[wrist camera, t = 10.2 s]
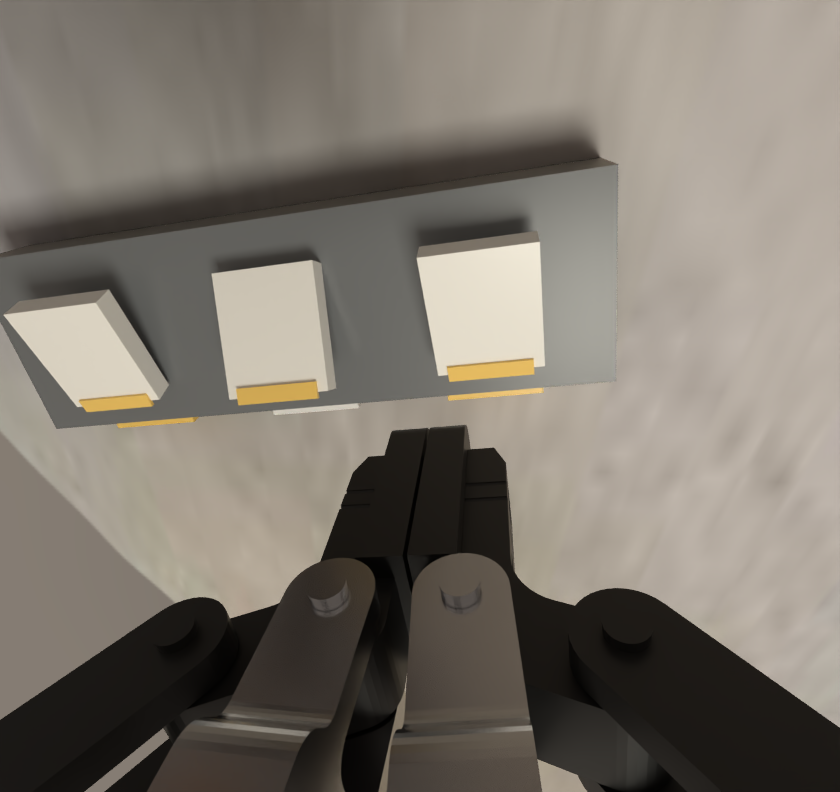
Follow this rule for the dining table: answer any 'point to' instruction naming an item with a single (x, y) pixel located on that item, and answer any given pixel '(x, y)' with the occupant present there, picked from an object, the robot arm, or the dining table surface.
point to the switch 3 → (484, 306)
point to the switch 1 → (90, 350)
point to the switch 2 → (274, 332)
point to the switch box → (341, 289)
